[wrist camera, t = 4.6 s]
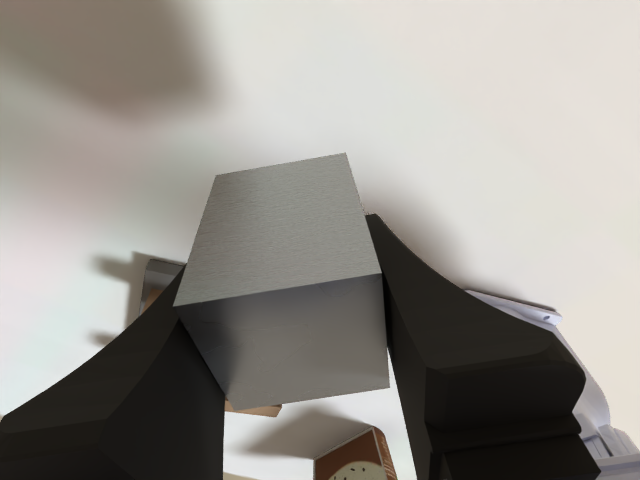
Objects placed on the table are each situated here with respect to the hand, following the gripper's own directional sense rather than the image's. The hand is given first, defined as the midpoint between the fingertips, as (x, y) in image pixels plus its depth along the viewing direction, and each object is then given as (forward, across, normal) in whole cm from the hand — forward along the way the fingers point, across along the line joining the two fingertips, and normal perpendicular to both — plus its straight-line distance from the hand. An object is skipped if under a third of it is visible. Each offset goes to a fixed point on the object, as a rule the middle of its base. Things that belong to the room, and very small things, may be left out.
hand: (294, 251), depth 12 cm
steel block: (+2, 0, 0) cm, 2 cm away
